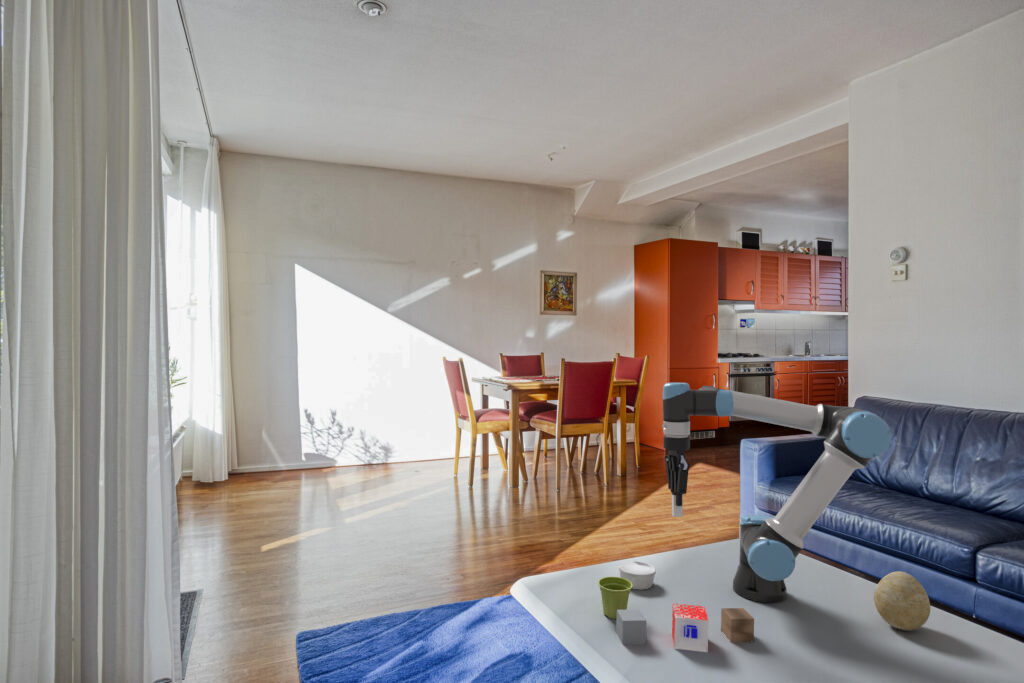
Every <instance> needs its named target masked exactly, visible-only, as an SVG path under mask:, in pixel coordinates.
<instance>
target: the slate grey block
mask: <svg viewBox="0 0 1024 683" xmlns="http://www.w3.org/2000/svg"><path fill="white" fill-rule="evenodd" d="M615 630H616V635H617V637H618V638H619V640H620V642H621V644H622V645H644V644H645V645H646V644H647V620H646V618H645V616H644V615H643V613H642V611H641V609H627V610H617V619H616V629H615Z"/></svg>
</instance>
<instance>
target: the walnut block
mask: <svg viewBox="0 0 1024 683" xmlns="http://www.w3.org/2000/svg"><path fill="white" fill-rule="evenodd" d="M720 609H721V612H720V613H721V614H720V631H721V633H722V632H723V633H724V634H725V635H726V636H725V635H724V634H723V633H722V634H723V635H724V636H725V638H727V640H728V639H729V640H730V641H729V640H728V641H729V642H730V643H752V642H751V641H754V640H755V618H754V616H752V615H751V614H750V613H749V612H748V611H747V610H746V609H745V608H744V607H733V608H732V607H731V608H729V607H728V608H727V607H725V608H720Z"/></svg>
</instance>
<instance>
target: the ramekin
mask: <svg viewBox="0 0 1024 683" xmlns="http://www.w3.org/2000/svg"><path fill="white" fill-rule="evenodd" d="M618 571H619V577H621V578H624V579H627V580H629V581H630V582H631V583H632V584H633V587H632V589H631V590H635V589H639V590H638V591H644V590H643V589H646V590H648V588H649V589H650V588H651V587H652V586H653V584H654V580H655V575H656V573H657V572H656V568H655V567H654V566H653V565H652V564H649V563H646V562H641V561H631V560H629V561H624V562H621V563H620V564H619V565H618Z"/></svg>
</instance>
